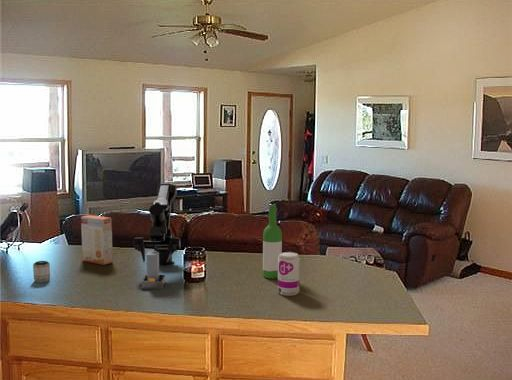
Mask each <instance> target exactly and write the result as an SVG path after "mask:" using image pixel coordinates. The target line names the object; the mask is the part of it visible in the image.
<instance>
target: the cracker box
mask: <svg viewBox="0 0 512 380" xmlns="http://www.w3.org/2000/svg"><path fill="white" fill-rule="evenodd" d="M80 219H81V221H80V226H81V254H82V256H81V258H82V262H86V263H92V264H97V265H102V266H106V265H108V264H112V263H113V261H114V260H113V227H112V226H113V225H112V222H113V221H112V220H113V219H112V217H107V216H102V215H101V216H100V215H94V214H93V215H92V214H87V215H82V216H80Z"/></svg>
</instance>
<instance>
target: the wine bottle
mask: <svg viewBox="0 0 512 380" xmlns="http://www.w3.org/2000/svg"><path fill="white" fill-rule="evenodd" d="M268 206H269V207H268V225H267V226H266V227H264V229H263V233H262V234H263V236H262V275H263V277H264V278H265V279H269V280H270V279H272V280H275V279H278V257H279V255H280V253H283V252H282V251H283V249H282V248H283V240H282V239H283V235H282V234H283V233H282V229H281V227H279V225H277V205H275V204H274V205H273V204H270V205H268Z"/></svg>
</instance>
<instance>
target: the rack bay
mask: <svg viewBox="0 0 512 380" xmlns="http://www.w3.org/2000/svg"><path fill="white" fill-rule="evenodd" d="M164 283H166V274H159V281H155V278H149V281H147V274H145V275H144V276H143V278H142V280H141V282H140V285H141V290H163V288H164V285H165V284H164Z"/></svg>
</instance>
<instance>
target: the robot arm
mask: <svg viewBox="0 0 512 380" xmlns="http://www.w3.org/2000/svg"><path fill="white" fill-rule="evenodd" d="M177 194H178V189H177V186H176V185H174V184H172V183H170V182H161V183H159V185H157V199H156V200H154V201H153V203H152V205H151V206H150V207H149V209H148V211H149V215H150V219H151V221H152V222H151V223H152V224H151V226H149V229H148V231H149V233H148V234H149V236H148V237H149V240H145V238H144V237H134V238H133V241H132V244H133V247H134V250H136V251H138V252H140V254H141V257H142V262H143V263H146V262H145V261H146V249H145V248H146V247H147V246H148V247H149V246H150V247H151V246H152V247H153V252H159V266H163V267H164V266H168V265H172V264H175V261H173V254H174V253H175V252H177V251H178V250H181V238H179V237H173V235H172V234H173V233H172V231H171V229H170V227H171V226H170V224H171V223H170V222H171V211H172V204H173V203H174V202H175V200H176V196H177Z"/></svg>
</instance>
